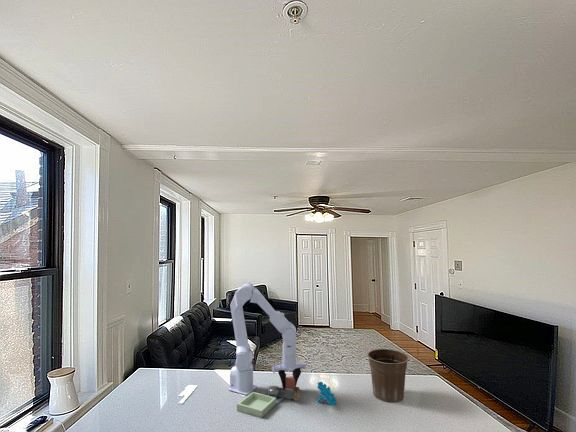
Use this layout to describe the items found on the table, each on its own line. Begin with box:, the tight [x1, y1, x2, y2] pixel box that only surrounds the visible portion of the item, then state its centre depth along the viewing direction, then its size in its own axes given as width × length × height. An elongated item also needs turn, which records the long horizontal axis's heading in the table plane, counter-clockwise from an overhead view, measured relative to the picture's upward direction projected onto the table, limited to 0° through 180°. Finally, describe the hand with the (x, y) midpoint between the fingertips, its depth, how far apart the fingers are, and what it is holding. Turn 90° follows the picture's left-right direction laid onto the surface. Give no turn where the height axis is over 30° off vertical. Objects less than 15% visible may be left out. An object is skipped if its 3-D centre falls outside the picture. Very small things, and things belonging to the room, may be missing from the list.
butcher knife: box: [177, 384, 198, 405], centre depth 138 cm, size 5×15×1 cm, turn 173°
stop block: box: [285, 375, 295, 389], centre depth 142 cm, size 4×4×5 cm
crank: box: [268, 385, 300, 402], centre depth 135 cm, size 12×5×3 cm, turn 83°
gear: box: [316, 381, 337, 407], centre depth 133 cm, size 11×6×10 cm
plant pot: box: [366, 348, 410, 403], centre depth 139 cm, size 16×16×16 cm
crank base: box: [267, 393, 284, 405], centre depth 137 cm, size 6×10×1 cm, turn 153°
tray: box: [236, 391, 277, 419], centre depth 128 cm, size 11×11×2 cm
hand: (289, 387), depth 142 cm, fingers closed on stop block, 4 cm apart
